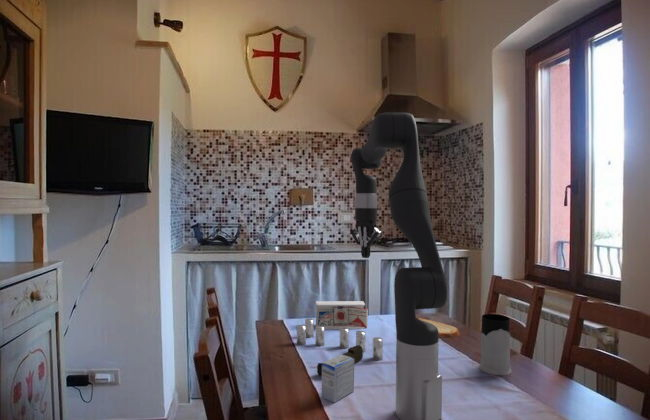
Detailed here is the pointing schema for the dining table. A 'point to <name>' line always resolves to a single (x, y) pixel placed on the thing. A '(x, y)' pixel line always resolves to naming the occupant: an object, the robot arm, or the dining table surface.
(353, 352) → the dark brown rod
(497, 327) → the glass holder
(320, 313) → the white printed carton
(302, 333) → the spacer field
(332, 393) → the medicine box
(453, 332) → the bread slice
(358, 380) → the dining table surface
